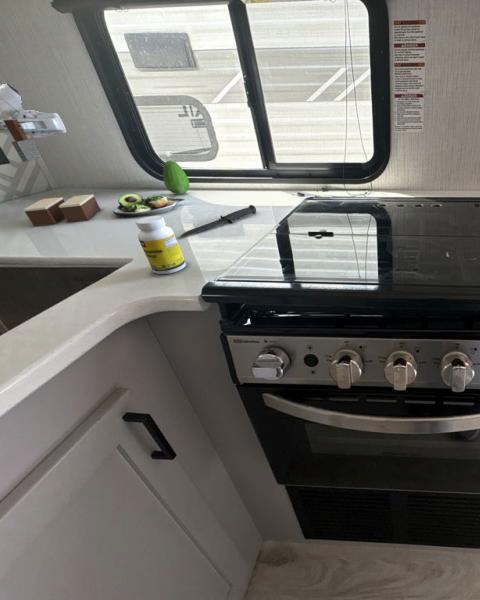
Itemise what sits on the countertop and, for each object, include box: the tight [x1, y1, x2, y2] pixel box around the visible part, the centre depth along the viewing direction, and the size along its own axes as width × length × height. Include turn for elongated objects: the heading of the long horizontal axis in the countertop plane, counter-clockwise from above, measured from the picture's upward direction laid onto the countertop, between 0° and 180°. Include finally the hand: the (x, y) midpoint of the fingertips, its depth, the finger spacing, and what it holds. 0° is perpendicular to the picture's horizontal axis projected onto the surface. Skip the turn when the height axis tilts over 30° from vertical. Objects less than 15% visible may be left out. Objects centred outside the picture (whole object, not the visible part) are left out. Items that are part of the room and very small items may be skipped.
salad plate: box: [113, 192, 186, 219], centre depth 109 cm, size 19×18×5 cm
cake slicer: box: [3, 119, 42, 163], centre depth 111 cm, size 10×2×12 cm, turn 23°
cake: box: [22, 193, 101, 227], centre depth 102 cm, size 12×13×5 cm
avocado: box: [162, 160, 190, 196], centre depth 123 cm, size 8×8×12 cm
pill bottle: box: [135, 215, 187, 275], centre depth 69 cm, size 6×6×11 cm
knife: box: [179, 204, 257, 239], centre depth 95 cm, size 24×5×3 cm, turn 143°
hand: (12, 126), depth 108 cm, fingers closed on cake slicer, 2 cm apart
